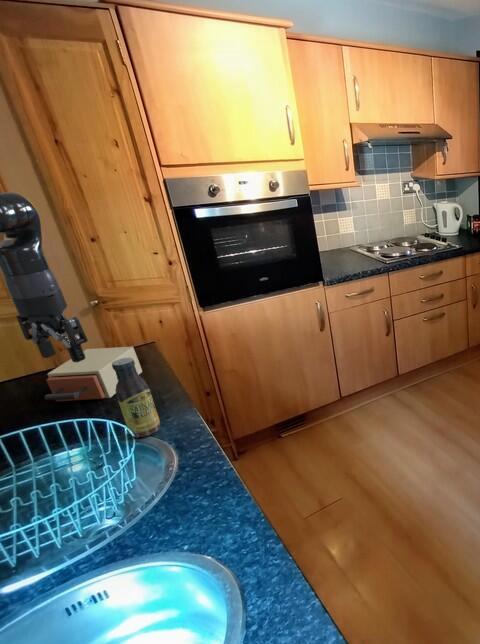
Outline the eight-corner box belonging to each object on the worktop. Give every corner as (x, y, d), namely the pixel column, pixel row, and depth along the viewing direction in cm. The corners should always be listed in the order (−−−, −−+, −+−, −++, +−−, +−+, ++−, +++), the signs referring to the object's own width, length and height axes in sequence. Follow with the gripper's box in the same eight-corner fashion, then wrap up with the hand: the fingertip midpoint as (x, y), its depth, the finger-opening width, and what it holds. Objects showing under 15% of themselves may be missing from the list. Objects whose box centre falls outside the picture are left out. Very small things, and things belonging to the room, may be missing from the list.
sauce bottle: (142, 441, 110) (113, 370, 102) (125, 436, 111) (95, 366, 104) (169, 426, 115) (143, 358, 107) (152, 421, 117) (126, 353, 109)
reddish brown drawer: (89, 409, 120) (79, 386, 118) (41, 412, 119) (30, 389, 116) (133, 373, 137) (125, 353, 135) (91, 376, 136) (83, 356, 133)
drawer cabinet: (110, 397, 127) (98, 370, 124) (59, 401, 126) (46, 373, 122) (142, 371, 140) (133, 346, 137) (97, 374, 139) (86, 348, 135)
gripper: (-13, 294, 93) (20, 362, 100) (41, 300, 91) (71, 370, 97) (30, 282, 100) (58, 347, 107) (81, 288, 97) (107, 354, 104)
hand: (64, 358), depth 102 cm, fingers open, 8 cm apart
